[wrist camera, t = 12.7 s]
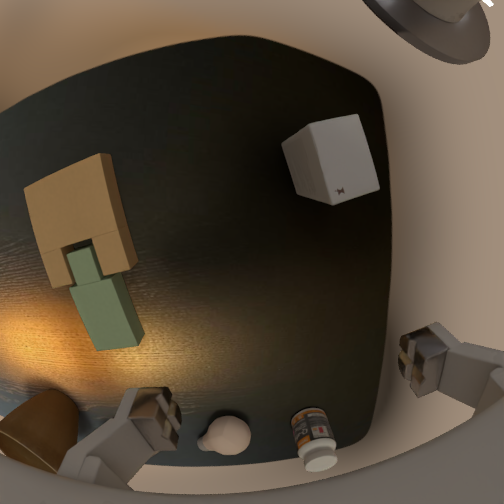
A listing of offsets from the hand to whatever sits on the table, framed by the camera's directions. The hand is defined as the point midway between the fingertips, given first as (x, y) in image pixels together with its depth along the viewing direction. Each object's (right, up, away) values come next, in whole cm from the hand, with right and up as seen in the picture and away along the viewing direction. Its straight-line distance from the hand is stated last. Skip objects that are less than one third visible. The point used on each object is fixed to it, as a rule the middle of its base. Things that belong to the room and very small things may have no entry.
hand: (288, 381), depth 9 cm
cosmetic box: (+5, +14, +22) cm, 26 cm away
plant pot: (-36, -23, +30) cm, 52 cm away
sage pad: (-20, -1, +24) cm, 31 cm away
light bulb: (-6, -24, +31) cm, 40 cm away
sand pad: (-22, +7, +22) cm, 32 cm away
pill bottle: (+8, -22, +32) cm, 40 cm away
